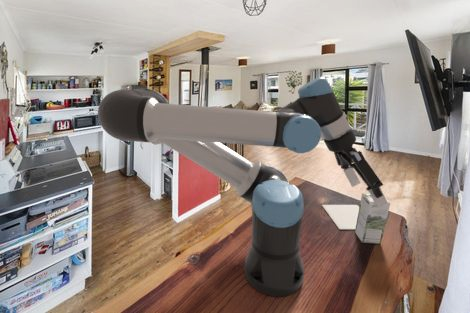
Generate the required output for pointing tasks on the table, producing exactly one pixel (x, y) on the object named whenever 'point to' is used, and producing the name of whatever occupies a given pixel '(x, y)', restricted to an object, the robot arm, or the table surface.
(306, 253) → the table surface
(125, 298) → the table surface
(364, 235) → the syrup box
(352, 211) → the mat
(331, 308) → the table surface
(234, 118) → the robot arm
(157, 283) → the table surface
